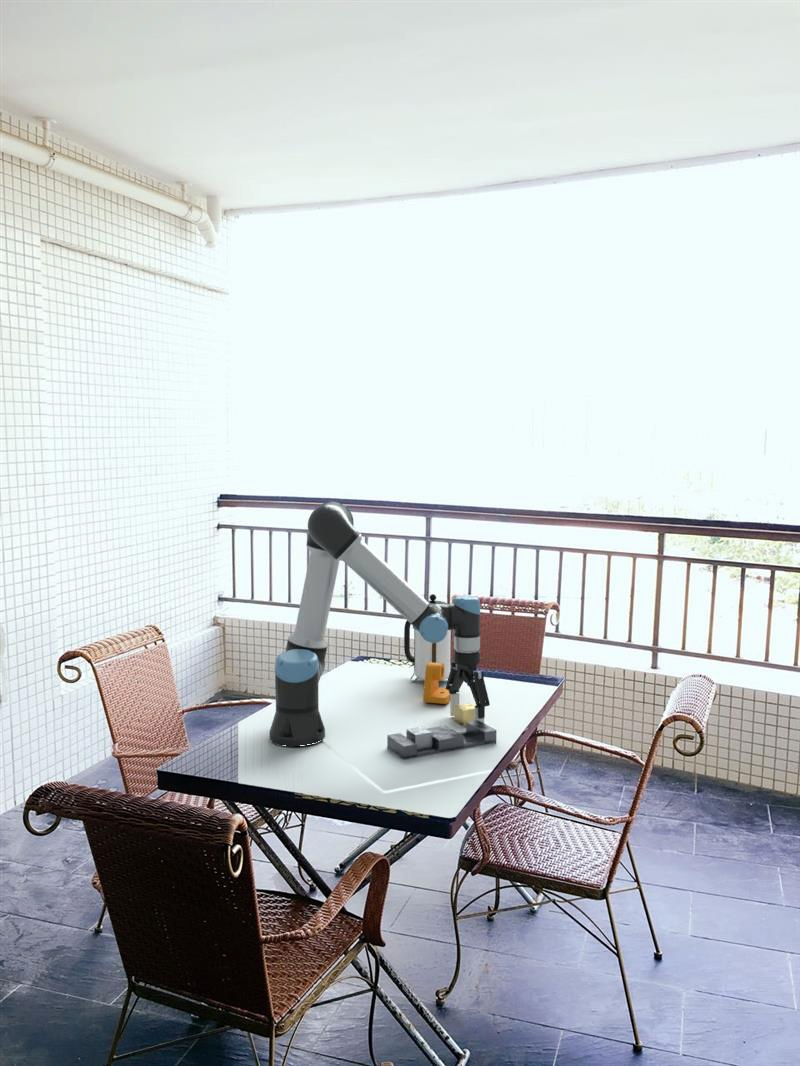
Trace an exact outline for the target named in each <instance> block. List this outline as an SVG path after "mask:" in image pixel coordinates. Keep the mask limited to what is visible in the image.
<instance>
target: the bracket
mask: <svg viewBox="0 0 800 1066" xmlns="http://www.w3.org/2000/svg"><path fill="white" fill-rule="evenodd" d="M444 670H445V669H444V664H443V663H432V662H428V663H427V666H426V673H425V680H424V684H423V693H422V702H423V703H432V704H442V705H443V704H445V705H448V704H450V693H449V690H446V687H440V685H439V683H440V682H442V681H444V680H443V678H444ZM438 680H440V681H438Z"/></svg>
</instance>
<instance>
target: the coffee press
mask: <svg viewBox="0 0 800 1066" xmlns="http://www.w3.org/2000/svg"><path fill="white" fill-rule="evenodd" d="M436 599H437V596H436V595H435V593H432V594H430V595H429V600H426V601H427V602H428V603H429V604H448V603H447V602H445V601H441V600H436ZM411 626H412V624H411V623H410V622H409V621H407V620H406V621H405V623H404V630H403V632H404V634H403V635H404V636H403V637H404V638H403V639H404V640H403V641H404V642H403V643H404V644H403V645H404V647H403V648H404V649H403V650H404V655H405V658H406V659H407V660H408V662H410V663H412V664H413V674H412V675H411V676H410V682H411V681H414V682H415V681H417V680H420V681H425V673H426V666H427V663H428V662H432V663H443V664H444V669H445V670H444V678H443V680H442V681H445V680H448V677H449V674H450V670H451V663H452V630H448V631H447V635H446V636H445V638H444V639H443V640H442V641H440V642H438V643H430V642H427V641H426V640H424V639H423V637H422V636H421V634H420V632H419V631H418V630H415V629H413V630H414V631H413V632H414V633H413V635H414V636H413V637H414V638H413V651H414V652H413V656H412V653H411V651H410V650H411V648H410V647H411V643H410V642H411V638H410V637H411ZM414 676H415V677H416V678H415V679H413V678H414ZM412 679H413V680H412ZM438 682H441V681H440V680H438Z"/></svg>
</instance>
